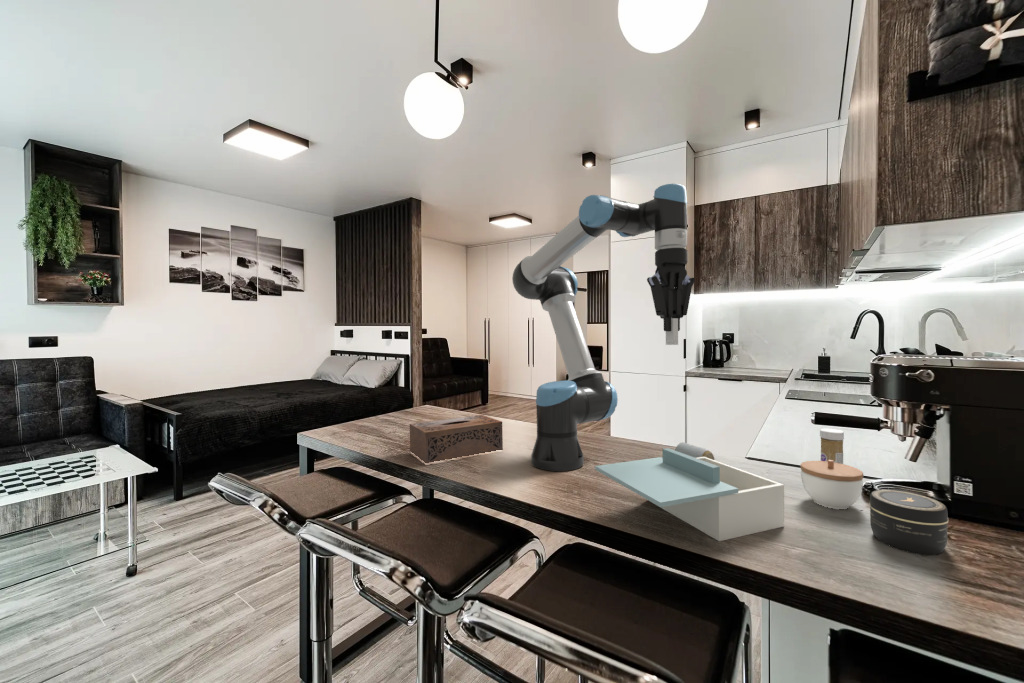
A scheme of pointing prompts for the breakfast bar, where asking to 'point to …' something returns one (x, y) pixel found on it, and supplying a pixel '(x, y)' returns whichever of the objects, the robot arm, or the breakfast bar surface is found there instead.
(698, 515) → the box
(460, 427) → the tissue box cover
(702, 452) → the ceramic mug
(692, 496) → the lid
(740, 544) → the breakfast bar surface
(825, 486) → the lidded jar
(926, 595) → the breakfast bar surface
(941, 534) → the jar
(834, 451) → the sprinkles bottle
